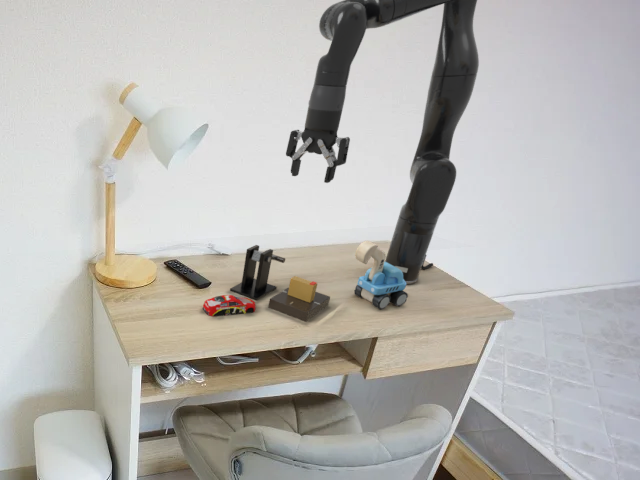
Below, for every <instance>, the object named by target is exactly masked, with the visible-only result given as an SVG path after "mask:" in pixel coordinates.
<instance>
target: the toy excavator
mask: <svg viewBox="0 0 640 480" xmlns="http://www.w3.org/2000/svg"><path fill="white" fill-rule="evenodd" d="M354 256H355V259H356V260H357V261H359V262H360V263H362V264H364V265H367V264H368V263H369V260H370V259H371V258H372V259H373V263H372V266H371V267H370V268H368V269H367V270H366V272H365V274H364V275H361V276H359V277H358V279H357V284H356V285H355V289H354V293H353V294H354V295H355V296H356V297H358V298H360V299H364V300H366V301H368V302H369V303H371V305H372V307H374V308H376V309H378V310H385V309H386V308H387V307H388V306H389V305H390V304H392V305H394V306H395V307H402V306H403V305H404V304H405V303H406V302H407V299H408V297H409V293H408V292H406V291H404V290H405V289H406V286H407V284H406V282H405V280H404V279H403V273H402V271H401V270H400V269H398V268H396V267H395V266H393V265H391V264H389V263H387V262H385V260H386V257H387V254H386V253H385V251H383V250H382V249H380V248H379V245H378V244H376V243H375V242H372V241H370V240H364V241H362V242H361V243H360V244H359V245H358V246H357V248H356V250H355V254H354Z"/></svg>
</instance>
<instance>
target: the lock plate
mask: <svg viewBox="0 0 640 480" xmlns="http://www.w3.org/2000/svg"><path fill="white" fill-rule="evenodd" d="M288 290H289V286H288V287H287V288H285V289H284V290H281V291H280V292H278V293H277V294H275V295H273V296H272V297H270V298H269V302H268V306H267V307H268V309H271V310H274V311H276V312H278V313H282V314H284V315H286V316H289V317H291V318H294V319H297V320H300V321H303V322H307V321H309V320H310V319H312V318H313V317H314V316H316V315H317V314H319V313H320V312H322V311H323V310H324V309H325V308H327V307H328V306H329V305H330V300H331V296H330V295H326V294H324V293H321V292H317V291H316V292H315V296H314V300H313V301H312V302H310V303H309V302H306V301H304V300H301V299H298V298H295V297H292V296H290V295H288Z"/></svg>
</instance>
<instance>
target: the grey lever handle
mask: <svg viewBox="0 0 640 480" xmlns="http://www.w3.org/2000/svg"><path fill="white" fill-rule="evenodd" d="M263 252H264V251H261V250H259V251H257V250H254V252H253V255H252V260H255V261H257V262H258V263H259V261H260V255H261V253H263ZM271 261H276V262H278V263H282V264H284V263H285V262H286V258H285V257H283V256H279V255H276V254H272V260H271Z"/></svg>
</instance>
